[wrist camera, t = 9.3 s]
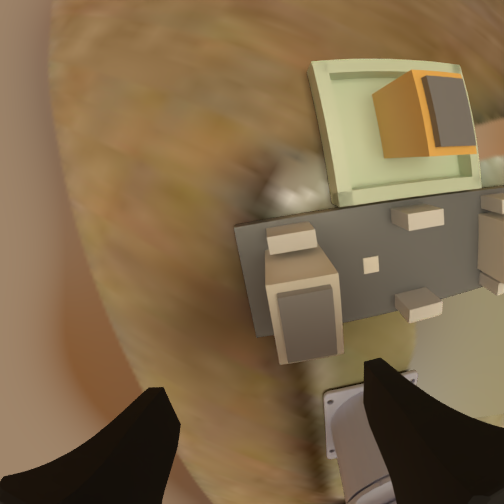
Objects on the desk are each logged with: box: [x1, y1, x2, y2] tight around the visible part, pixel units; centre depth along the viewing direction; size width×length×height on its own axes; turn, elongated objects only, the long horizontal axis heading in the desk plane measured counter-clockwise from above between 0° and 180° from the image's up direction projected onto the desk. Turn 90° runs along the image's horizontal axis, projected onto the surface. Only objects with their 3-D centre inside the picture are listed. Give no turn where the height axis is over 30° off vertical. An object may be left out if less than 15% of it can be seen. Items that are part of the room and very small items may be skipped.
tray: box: [307, 59, 482, 207], centre depth 15 cm, size 8×10×2 cm
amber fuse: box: [372, 70, 477, 158], centre depth 13 cm, size 4×3×6 cm
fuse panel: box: [234, 186, 504, 365], centre depth 15 cm, size 7×21×7 cm, turn 101°
